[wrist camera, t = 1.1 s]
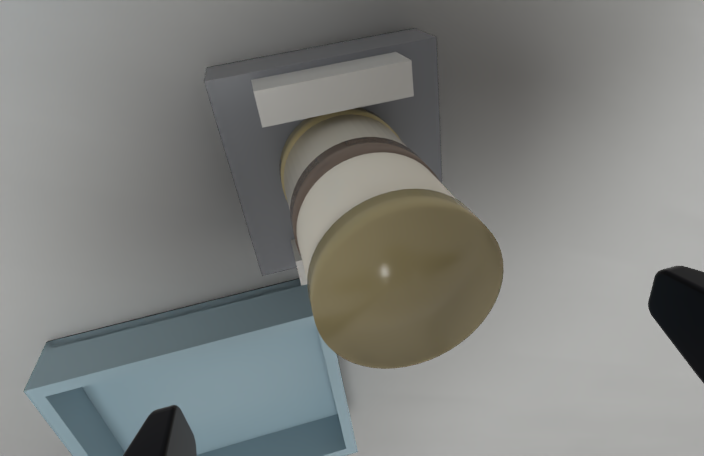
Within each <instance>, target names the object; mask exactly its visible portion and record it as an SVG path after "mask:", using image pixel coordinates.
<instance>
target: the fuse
mask: <svg viewBox="0 0 704 456" xmlns="http://www.w3.org/2000/svg"><path fill="white" fill-rule="evenodd" d="M279 171H280V179H281V184H282V188H283V192H284V195H285V198H286V200H287V202H288V205H289V209H290V219H291V225H292V229H293V234H294V238H295V242H296V245H297V249H298V252H299V254H300V256H301V258H302V262H303V266H304V270H305V274H306V278H307V289H308V295H309V300H310V304H311V308H312V313H313V317H314V321H315V324H316V327H317V330H318V332H319V334H320V336H321V337H322V339H323V340H324V342H325V343H326V344H327V345H328V347H329V348H330V349H332V350H333V351H334V352H335V353H336V354H338V355H339V356H341V357H342V358H344V359H346V360H348V361H350V362H352V363H355V364H358V365H362V366H366V367H372V368H383V369H386V368H400V367H407V366H411V365H416V364H419V363H422V362H425V361H428V360H431V359H433V358H435V357H438V356H440V355H442V354H443V353H445V352H447V351H449V350H451V349H452V348H454V347H455V346H457V345H458V344H460V343H461V342H462V341H463V340H465V339H466V338H467V337H468V336H469V335H470V334H472V333H473V332H474V331H475V330H476V329H477V328H478V326H479V325H480V324H481V323H482V322H483V321H484V319H485V318H486V316H487V315H488V314H489V312H490V311H491V309H492V307H493V305H494V303H495V301H496V299H497V297H498V294H499V292H500V288H501V284H502V279H503V259H502V254H501V250H500V248H499V245H498V242H497V241H496V239H495V237H494V236H493V234H492V233H491V232H490V231H489V230H488V228H487V227H486V226H485V225H484V224H483V223H482V222H481V221H480V220H479V219H478V218H477V217H476V216H475V215H474V214H473V213H472V212H471V211H470V210H469V208H467V207H466V206H465V205H464V204H463V203H461V202H460V201H458V200H457V199H456V198H455V197H454V196H453V195H452V194H451V193H450V192H449V191H448V190H447V189H446V188H445V187H444V186H443V185H442V183H441V182H440V181H439V179H438V178H437V176H436V175H435V173H434V172H433V171H432V170H431V169H430V168H429V167H428V166H427V165H426V164H425V163H424V162H423V161H422V160H421V158H420V157H419V156H418V155H417V154H416V153H414V152H413V151H412V150H411V149H410V148H408V147H406V145H405V144H404V143H403V142H402V141H401V140H400V138H399V137H398V135H397V134H396V133H395V132H394V130H393V129H392V128H391V127H390V126H389V125H388V124H387V123H386V122H385V121H384V120H383V119H381V118H380V117H379V116H378V115H376V114H374V113H373V112H371V111H368V110H366V109H363V108H360V107H359V108H355V109H350V110H345V111H340V112H335V113H331V114H326V115H321V116H316V117H311V118H307V119H304V120H303V121H302V122H301V123H300V124H299V125H298V126H297V127H296V128H295V129H294V130H293V131H292V133H291V134H290V135H289V137H288V139H287V140H286V142H285V145H284V147H283V149H282V153H281V157H280V164H279Z"/></svg>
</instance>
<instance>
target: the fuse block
mask: <svg viewBox="0 0 704 456" xmlns="http://www.w3.org/2000/svg"><path fill="white" fill-rule="evenodd" d="M204 83H205V86H206V90H207V93H208V96H209V100H210V103H211V106H212V110H213V113H214V116H215V120H216V123H217V127H218V130H219V133H220V137H221V140H222V143H223V147H224V150H225V153H226V157H227V160H228V163H229V167H230V170H231V173H232V177H233V180H234V183H235V187H236V190H237V193H238V197H239V200H240V203H241V207H242V210H243V213H244V217H245V220H246V223H247V227H248V230H249V234H250V237H251V240H252V244H253V247H254V250H255V254H256V257H257V260H258V264H259V267H260V270H261V274H262V276H264V275H268V274H272V273H276V272H280V271H284V270H288V269H292V268H296V267H297V270H298V274H299V278H300V282H301V286H302V285H306V284H307V278H306V274H305V270H304V266H303V262H302V258H301V256H300V254H299V252H298V249H297V245H296V242H295V238H294V234H293V229H292V225H291V219H290V209H289V205H288V202H287V200H286V198H285V195H284V192H283V188H282V184H281V179H280V171H279V164H280V157H281V153H282V149H283V147H284V145H285V142H286V140H287V139H288V137H289V135H290V134H291V133H292V131H293V130H294V129H295V128H296V127H297V126H298V125H299V124H300V123H301V122H302V121H303V120H304V119H307V118H311V117H316V116H321V115H326V114H331V113H335V112H340V111H345V110H350V109H355V108H359V107H360V108H363V109H366V110H368V111H371V112H373V113H374V114H376V115H378V116H379V117H380V118H381V119H383V120H384V121H385V122H386V123H387V124H388V125H389V126H390V127H391V128H392V129H393V130H394V132H395V133H396V134H397V135H398V137H399V138H400V140H401V141H402V142H403V143H404V144H405V145H406V147H408V148H410V149H411V150H412V151H413V152H414V153H416V154H417V155H418V156H419V157H420V158H421V160H422V161H423V162H424V163H425V164H426V165H427V166H428V167H429V168H430V169H431V170H432V171H433V172H434V173H435V175H436V176H437V178H438V179H439V181H440V182H441V183H442V166H441V140H440V115H439V89H438V64H437V38H436V37H435V36H433V35H430V34H428V33H425V32H422V31H420V30H417V29H408V30H403V31H398V32H392V33H387V34H382V35H377V36H371V37H366V38H361V39H355V40H350V41H345V42H340V43H334V44H329V45H324V46H318V47H313V48H308V49H303V50H297V51H292V52H287V53H281V54H276V55H271V56H266V57H260V58H255V59H250V60H244V61H239V62H234V63H228V64H223V65H218V66H213V67H207V69H206V74H205V79H204Z"/></svg>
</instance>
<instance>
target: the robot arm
mask: <svg viewBox="0 0 704 456" xmlns="http://www.w3.org/2000/svg"><path fill="white" fill-rule="evenodd" d="M648 307H649V311H650V313H651V315H652V316H653V318H654V319H655V320H656V322H657V323H658V324H659V326H660V327H661V328H662V330H663V331H664V332H665V334H666V335H667V336H668V337H669V339H670V340H671V341H672V343H673V344H674V345H675V347H676V348H677V349H678V351H679V352H680V353H681V355H682V356H683V357H684V359H685V360H686V361H687V362H688V364H689V365H690V366H691V368H692V369H693V370H694V372H695V373H696V374H697V375H698V377H699V378H700V379H701V380H702V382H703V383H704V272H701V271H698V270H695V269H691V268H688V267H684V266H674V267H670V268H667V269H663V270H660V271H658V273H657V274H656V275H655V278H654V282H653V286H652V290H651V294H650V297H649V302H648ZM123 456H197V452H196V442H195V438H194V434H193V432H192V430H191V428H190V426H189V424H188V422H187V420H186V418H185V416H184V414H183V413H182V411H181V409H180V408H179V407H178V406H177V405H171V406H168V407H164V408H161V409H157V410H154V411H153V412H151V413H150V414H149V416H148V417H147V419H146V420H145V422H144V423H143V425H142V426H141V428H140V429H139V431H138V433H137V434H136V436H135V437H134V439H133V440H132V442H131V443H130V445H129V447H128V448H127V450H126V451H125V453H124V454H123Z"/></svg>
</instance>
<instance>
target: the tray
mask: <svg viewBox="0 0 704 456" xmlns="http://www.w3.org/2000/svg"><path fill="white" fill-rule="evenodd" d="M24 393H25V394H26V395H27V396H28V398H29V399H30V400H31V402H32V403H33V404H34V406H35V407H36V408H37V410H38V411H39V412H40V414H41V415H42V416H43V418H44V419H45V420H46V421H47V423H48V424H49V425H50V427H51V428H52V429H53V431H54V432H55V433H56V435H57V436H58V437H59V439H60V440H61V441H62V442H63V444H64V445H65V446H66V448H67V449H68V450H69V452H70V453H71V454H72V456H123V454H124V453H125V451H126V450H127V448H128V447H129V445H130V443H131V442H132V440H133V439H134V437H135V436H136V434H137V433H138V431H139V429H140V428H141V426H142V425H143V423H144V422H145V420H146V419H147V417H148V416H149V414H150V413H151V412H153V411H154V410H157V409H161V408H164V407H168V406H171V405H177V406H178V407H179V408H180V409H181V411H182V413H183V414H184V416H185V418H186V420H187V422H188V424H189V426H190V428H191V430H192V432H193V434H194V438H195V442H196V452H197V456H346V455H349V454H353V453H356V452H358V450H357V446H356V441H355V437H354V432H353V428H352V423H351V418H350V414H349V409H348V405H347V400H346V395H345V391H344V386H343V382H342V377H341V372H340V368H339V363H338V359H337V354H336V353H335V352H334V351H333V350H332V349H330V348H329V347H328V345H327V344H326V343H325V342H324V340H323V339H322V337H321V336H320V334H319V332H318V330H317V327H316V324H315V321H314V317H313V313H312V308H311V304H310V300H309V295H308V289H307V284H306V285H302V286H301V282H300V279H297V280H293V281H289V282H285V283H281V284H277V285H273V286H269V287H265V288H261V289H257V290H253V291H249V292H245V293H241V294H237V295H233V296H229V297H225V298H221V299H217V300H213V301H209V302H205V303H201V304H197V305H193V306H189V307H185V308H181V309H177V310H173V311H169V312H165V313H161V314H157V315H153V316H149V317H145V318H141V319H137V320H133V321H129V322H125V323H121V324H117V325H113V326H109V327H105V328H101V329H97V330H93V331H89V332H85V333H81V334H77V335H73V336H69V337H65V338H61V339H57V340H53V341H49V342H46V345H45V347H44V349H43V351H42V353H41V355H40V357H39V360H38V362H37V364H36V366H35V368H34V370H33V372H32V374H31V377H30V379H29V381H28V383H27V385H26V387H25V389H24Z"/></svg>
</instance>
